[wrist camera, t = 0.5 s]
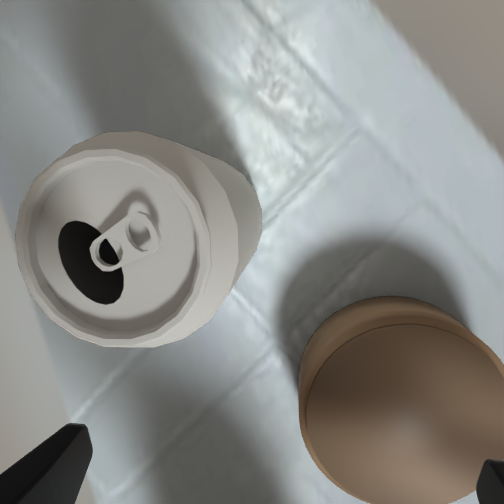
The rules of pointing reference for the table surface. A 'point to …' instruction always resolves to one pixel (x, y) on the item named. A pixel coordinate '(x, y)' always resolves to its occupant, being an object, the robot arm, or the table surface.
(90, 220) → the can
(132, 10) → the table surface
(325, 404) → the brown wooden disc
